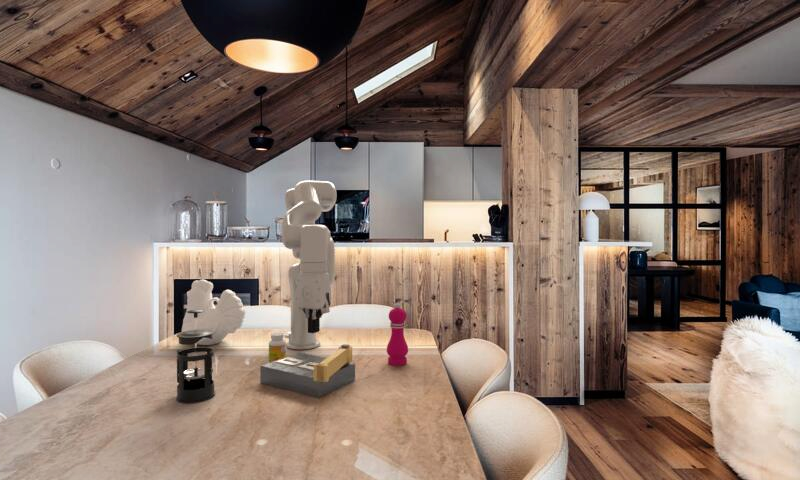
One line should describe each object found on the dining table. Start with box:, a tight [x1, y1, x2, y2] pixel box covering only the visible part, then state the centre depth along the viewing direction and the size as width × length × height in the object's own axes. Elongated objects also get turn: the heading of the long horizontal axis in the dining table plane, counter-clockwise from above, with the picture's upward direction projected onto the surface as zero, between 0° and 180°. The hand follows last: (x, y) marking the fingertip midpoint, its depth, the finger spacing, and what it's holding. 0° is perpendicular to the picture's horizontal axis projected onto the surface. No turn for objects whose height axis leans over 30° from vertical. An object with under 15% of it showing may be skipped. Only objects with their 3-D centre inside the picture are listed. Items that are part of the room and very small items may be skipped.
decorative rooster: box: [181, 278, 246, 346], centre depth 167 cm, size 25×16×25 cm, turn 65°
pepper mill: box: [386, 302, 409, 367], centre depth 145 cm, size 7×7×20 cm
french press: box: [175, 309, 216, 404], centre depth 115 cm, size 12×9×23 cm
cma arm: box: [314, 343, 353, 382], centre depth 119 cm, size 20×4×5 cm, turn 167°
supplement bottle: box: [268, 332, 287, 363], centre depth 144 cm, size 5×5×10 cm
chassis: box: [259, 352, 356, 399], centre depth 127 cm, size 22×16×5 cm
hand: (313, 332), depth 124 cm, fingers closed
